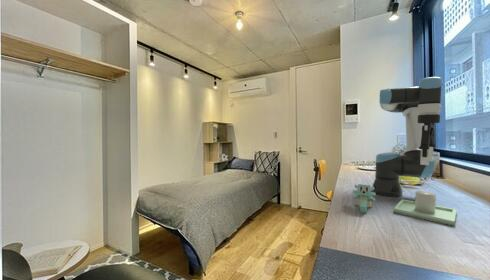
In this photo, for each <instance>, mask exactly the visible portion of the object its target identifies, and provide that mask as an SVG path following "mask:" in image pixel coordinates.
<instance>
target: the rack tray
mask: <svg viewBox="0 0 490 280" xmlns="http://www.w3.org/2000/svg"><path fill="white" fill-rule="evenodd" d="M394 212H395V214H398V213H400V214H399V215H402V214H404V215H403V216H407V215H409V216H408V217H411V216H413V217H412V218H415V217H418V218H417V219H420V218H422V219H421V220H424V219H426V220H425V221H429V220H430V222H433V221H434V223H438V222H439V224H442V223H443V224H444V225H446V224H448V225H447V226H451V225H452V227H456V226H455V225H456V220H457V219H456V218H457V208H451V207H446V206H442V205H435V214H426V213H421V212H418V211H416V210H415V200H414V201H413V200H408V199H403V198H401V200H400V201H399V202H398V203H397V204H396V205H395V206H394V208H393V213H394Z"/></svg>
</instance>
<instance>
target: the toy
mask: <svg viewBox="0 0 490 280" xmlns="http://www.w3.org/2000/svg"><path fill="white" fill-rule="evenodd" d="M353 187H354V188H355V189H354V190H352V193H353V197H352V198H353V199H356V205H357V206H358V207H359V212H360V213H362V214H367V213H368V208H372V207H373V202H375V201H376V196H377V195H376V193H374V192H372V190H373V189H375V188H374V186H371V185H370V184H362V183H361V184H359V183H357V184H356V183H355V184H354V186H353ZM356 189H357V190H356ZM374 196H375V197H374ZM368 200H370V201H368Z"/></svg>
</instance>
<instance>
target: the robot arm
mask: <svg viewBox="0 0 490 280" xmlns="http://www.w3.org/2000/svg"><path fill="white" fill-rule="evenodd" d="M442 86H443V83H442V78H441V77H439V76H431V77H424V78H421V79H419V82H418V86H410V87H398V88H386V89H380V90H379V106H380V108H381V109H382V110H383V111H386V112H389V113H394V114H395V113H397V114H399V113H402V116H403V117H404V118H405V131H406V132H405V137H406V151H405V152H403V155H401V153H400V152H398V151H397V152H396V151H395V152H383V153H378V154H376V156H375V161H374V162H375V172H374V173H375V176H374V177H375V178H374V181H373V183H372V186H374V188H375V189H373V190H371V192H374V193H376V194H377V195H380V196H385V197H394V198H395V197H396V198H397V197H402V196H403V189H402V186H401V185H402V184H401V183H400V177H405V178H406V177H407V178H408V177H409V178H418V179H429V178H431V177H432V175H433V173H434V170H435V162H436V159H435V157H434V148H435V147H436V144H435V141H434V140H435V139H434V137H435V129H436V128H435V126H434V125H433V124H439V123H440V122H441V115H440V113H441V109H442V108H443V106H442V105H441V103H442V102H441V101H442ZM372 186H371V187H372Z"/></svg>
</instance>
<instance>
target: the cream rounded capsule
mask: <svg viewBox="0 0 490 280" xmlns="http://www.w3.org/2000/svg"><path fill="white" fill-rule="evenodd" d="M436 198H437V194H436V193H434V192H430V191H425V190H417V191H415V200H414V202H415V210H416V211H418V212H421V213H426V214H435V205H436V204H437V201H436ZM436 206H437V205H436Z"/></svg>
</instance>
